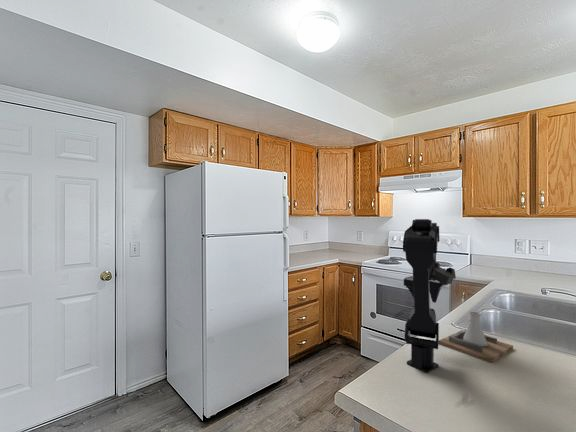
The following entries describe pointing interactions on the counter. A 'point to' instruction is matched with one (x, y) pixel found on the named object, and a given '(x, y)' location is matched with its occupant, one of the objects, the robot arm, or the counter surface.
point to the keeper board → (477, 347)
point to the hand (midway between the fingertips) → (426, 304)
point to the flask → (475, 331)
